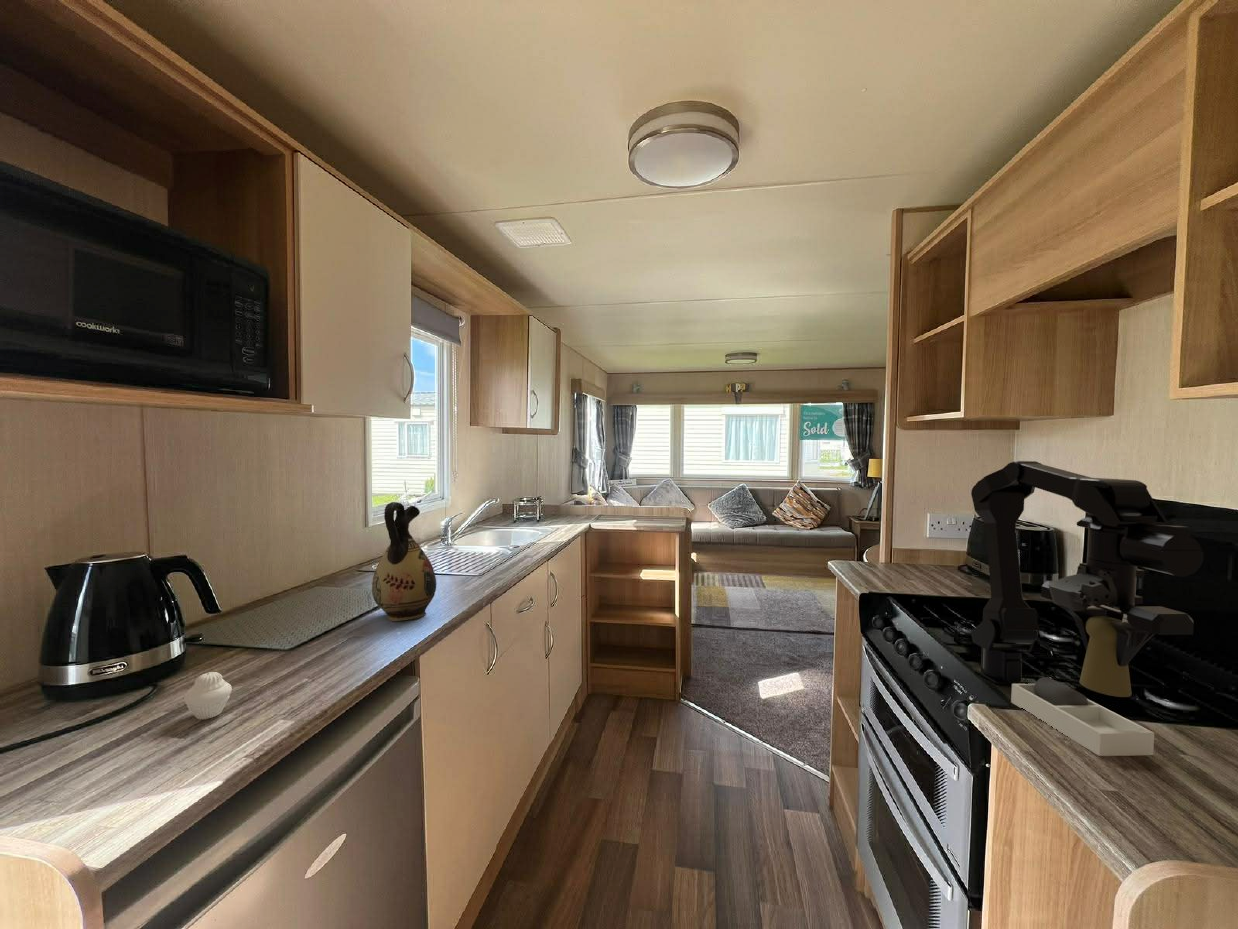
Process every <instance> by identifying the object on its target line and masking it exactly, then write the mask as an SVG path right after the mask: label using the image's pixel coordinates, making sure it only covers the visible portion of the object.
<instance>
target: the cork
mask: <svg viewBox="0 0 1238 929" xmlns="http://www.w3.org/2000/svg"><path fill="white" fill-rule="evenodd" d="M1110 622H1122V620H1120V619H1117V618H1114V617H1109V616H1106V617H1103V616H1094V617H1090V618H1089V619H1088V620H1087V622H1086V631H1087V633H1088V634H1089V636H1090V638H1089V643H1088V647H1087V650H1086V652H1085V655H1084V660H1083V664H1082V669H1081V673H1080V678H1079V684H1080V685H1081V686H1083V687H1084V688H1086V689H1088V690H1090V691H1093V692H1095V693H1099V694H1103V695H1106V696H1111V697H1112V696H1113V697H1117V698H1128V697H1131V696H1132V694H1133V693H1132V685H1131V676H1130V670H1129V664H1128V665H1127V666H1119V665H1118V663H1117V632H1116V630H1115V629H1114V628H1113V626H1112V625H1111V624H1110Z"/></svg>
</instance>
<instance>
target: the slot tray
mask: <svg viewBox="0 0 1238 929" xmlns="http://www.w3.org/2000/svg"><path fill="white" fill-rule="evenodd" d="M1035 683H1036V682H1035ZM1035 683H1028V684H1011V695H1010V696H1011V698H1010V703H1012V704H1013V705H1015V706H1017V707H1018V708H1019V709H1021V708H1023V709H1025V710H1026V711H1028V712H1030V713H1032V714H1033V715H1035V716H1036V717H1037V718H1036V717H1035V718H1036V719H1038V720H1039V719H1041V720H1042V721H1041V720H1040V721H1041V722H1043V721H1044V722H1046V723H1047V724H1046V723H1045V724H1046V725H1048V726H1049V727H1051V726H1052V727H1053V729H1054V730H1056V729H1057V730H1058V731H1057V730H1056V731H1057V732H1059V733H1061V734H1062V733H1063V735H1064V736H1066V737H1067V736H1068V737H1067V738H1069V739H1071V740H1072V741H1074V742H1075V743H1077V744H1078V745H1080V746H1082V747H1084V748H1085V749H1087V750H1089V751H1091V753H1094V754H1095V755H1097V756H1099V757H1121V756H1122V757H1123V756H1128V757H1129V756H1130V757H1131V756H1154V744H1155V732H1153V731H1152V730H1149V729H1147V728H1146V727H1143V726H1142V725H1140V724H1138V723H1136V722H1134V721H1132V720H1130V719H1128V718H1126V717H1123V716H1122V715H1120V714H1118V713H1116V712H1114V711H1112V710H1110V709H1108V708H1106V707H1104V706H1102V705H1100V704H1099V703H1097V702H1095V701H1093V700H1090V699H1089V698H1087V701H1088V705H1069V706H1054V705H1052V704H1051V703H1049V702H1047V701H1045V700H1043V699H1042V698H1040V697H1038V696H1037V695H1036V694H1035V691H1034V686H1035ZM1023 709H1022V710H1023ZM1025 710H1024V711H1025ZM1026 711H1025V712H1026ZM1028 712H1027V713H1028ZM1030 713H1029V714H1030ZM1033 715H1032V716H1033ZM1044 722H1043V723H1044ZM1052 727H1051V728H1052Z"/></svg>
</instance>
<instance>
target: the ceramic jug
mask: <svg viewBox="0 0 1238 929" xmlns="http://www.w3.org/2000/svg"><path fill="white" fill-rule="evenodd" d="M420 513H421V511H420V509H419V508H418V507H417V506H415V505H410V506H408V507H406V508H405V506H404V505H403V504H402V503H401V502H397V501H391V502H390V503H387V504H386V505H385V507H384V512H383V514H384V518H383V519H384V523H385V525H386V526H385V527H386V530H387V533H388V539H389V540H390V541H389V542H390V543H389V545H388V547H386V549H385V551H384V553H383V554H382V556H381V558H380V560H379V561H378V563H377V565H376V568H375V570H374V573H373V575H372V576H373V577H372V582H371V591H372V592H371V593H372V597H373V601H374V603H375V604H376V606H378V607H379V609H381V610H382V611H383V612H384V614H385V615H386V617H387V619H388V620H389V621H392V622H397V621H398V622H399V621H407V620H415V619H420V618H421V617H423V616H426V615H427V613H426V609H427V608H428V607H429V605H430V604H431V602H432V601H433V599H434V597H435V595H436V590H437V578H436V573H435V570H434V567H433V564H432V563H431V560H430V559H429V557H428V556H427V555H426V552H424V550H423V549H422V548H421V546H420V545H419V543H418V542H416V541H415V540H416V539H414V538H413V536H412V534H411V533H410V530H409V528H410V523H411V522H412V521H413V520H414V519H415V518H417V517H418V516H419V515H420ZM395 515H396V516H395Z"/></svg>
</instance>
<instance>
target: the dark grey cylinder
mask: <svg viewBox="0 0 1238 929" xmlns="http://www.w3.org/2000/svg"><path fill="white" fill-rule="evenodd" d="M1034 691H1035V694H1036V695H1037V696H1038V697H1040V698H1042V699H1043V700H1045V701H1047V702H1049V703H1051V704H1052V705H1054V706H1069V705H1088V701H1087V699H1088V698H1087V697H1086V695H1084V694H1083V693H1081V692H1079V691H1077V690H1075V689H1073V688H1071V687H1069V686H1067V685H1065V684H1063V683H1061V682H1058V681H1057V680H1055V679H1053V678H1051V677H1049V676H1048V677H1047V676H1043V677H1040V678H1038V679H1037V680H1036V682H1035V686H1034Z"/></svg>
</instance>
